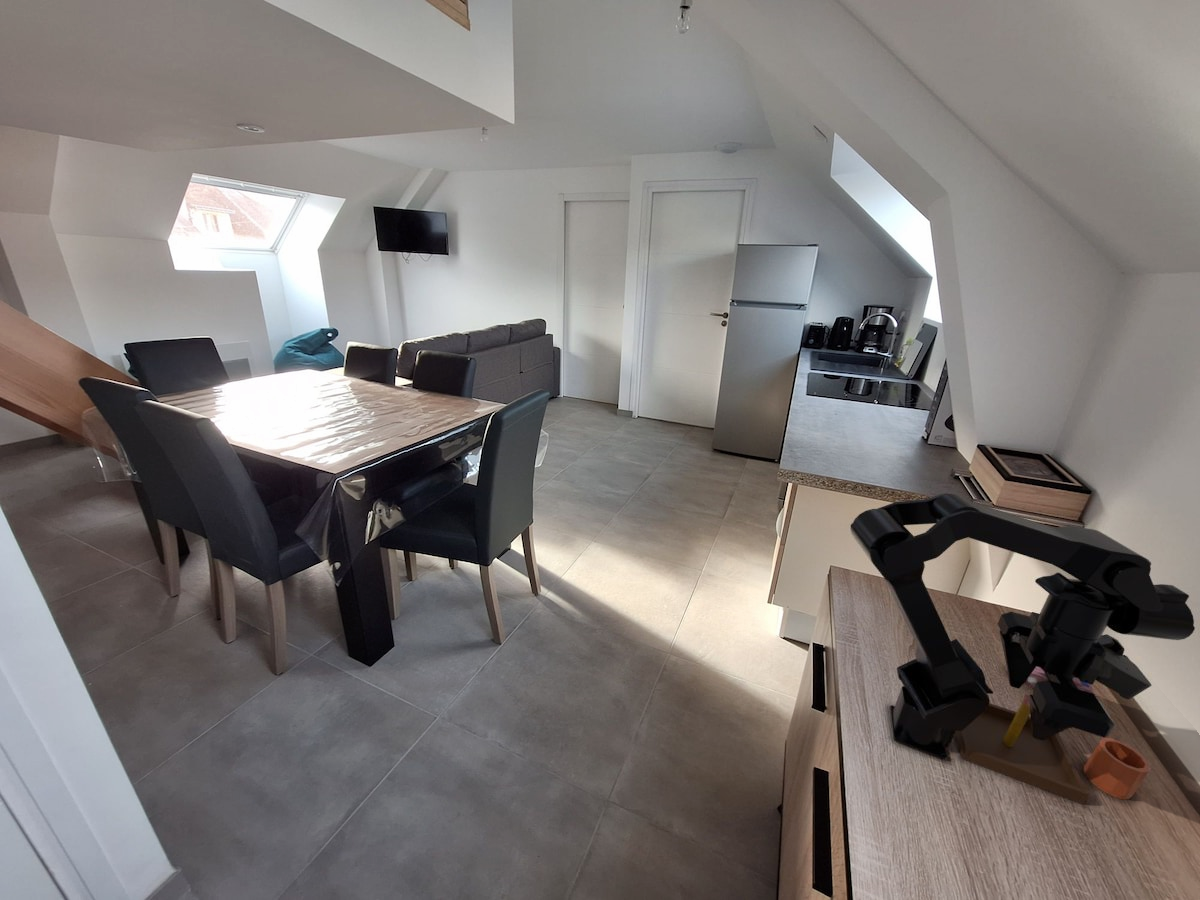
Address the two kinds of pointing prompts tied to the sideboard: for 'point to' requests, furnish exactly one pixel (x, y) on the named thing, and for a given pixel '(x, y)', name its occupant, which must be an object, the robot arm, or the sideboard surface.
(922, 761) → the sideboard surface
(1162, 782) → the sideboard surface
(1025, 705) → the pencil
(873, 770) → the sideboard surface
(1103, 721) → the robot arm
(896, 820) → the sideboard surface
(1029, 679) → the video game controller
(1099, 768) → the pen pot
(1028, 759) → the tray
